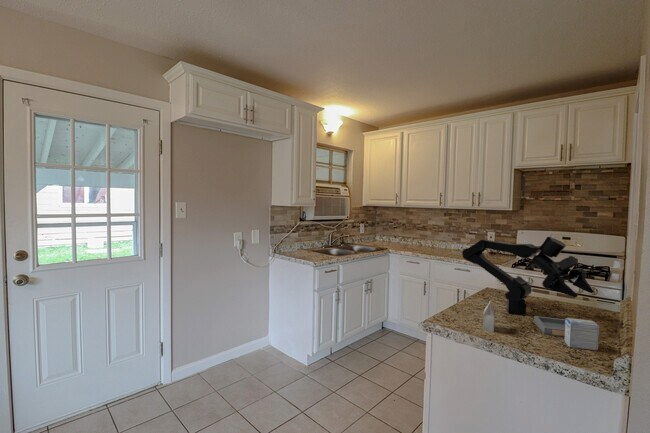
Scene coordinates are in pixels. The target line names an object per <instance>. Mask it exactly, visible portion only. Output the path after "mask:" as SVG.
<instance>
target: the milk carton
mask: <svg viewBox="0 0 650 433" xmlns="http://www.w3.org/2000/svg"><path fill="white" fill-rule="evenodd" d="M495 310H496V309H495V308H494V307H493V304H492V300H489V302H488V304H486V307H485V308H484V310H483V314H482V330H481V331H484V332H489V333H494V330H495V322H496V311H495Z"/></svg>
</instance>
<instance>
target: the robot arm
mask: <svg viewBox="0 0 650 433" xmlns="http://www.w3.org/2000/svg"><path fill="white" fill-rule="evenodd" d="M566 247H567V245H566V244H565V243H564V242H563V241H561V240H558V239H557V238H554V237H552V236H547V237H546V238H545V239H544V241H543V242H542V244H541V245H538V246H536V245H534V244H532V243H509V242H502V241H495V240H489V239H487V238H485V239H480V240H478V241H477V242H475V243H474V244H472V245H471V246H469V247H467V248H464V249H463V250H462V254H461V255H462V258H463V259H464V260H466V261H468V262H470V263H472V264H475V265H477V266H479V267H481V269H483V270H485V271H486V272H487V273H489V274H490V275H491V276H492V277H494V278H495V279H497V280H498V281H500V283H502V284H504V286H505V288H506V289H507V292H506V293H505V294H504V296H505V299H506V308H505V311H506V312H507V313H508V314H510V315H519V316H526V315H527V314H526V313H527V303H526V300H525V299H527V297H528V296H529V295H531V293H532V285H531V284H530V283H529V281H526V280H525V279H524V278H523V277H522V276H516V277H513V276H512V275H510V274H509V273H508V272H506V271H504V270H503V269H502V268H501V267H499V266H498V265H496V264H494V263H493V262H492V261H490V260H489V259H487V258H486V257H485V255H484V252H485V250H487V249H488V250H493V251H498V252H499V251H500V252H505V253H509V254H512V255H514V256H516V257H519V258H522V259H528V258H532V259H529V260H527V261H528V267H532V268H535V267H537V268H539V269H540V270H541V271H542V274H543V275H544V276H545V277H544V279H543V281H542V282H541V284H542V287H543V288H544V289H546V290H550V291H554V292H557V293H561V294H564V295H567V296H570V297H573V298H578V294H577V293H576V292H575V291H574V290H573V288H571V287H570V286H569V285H568V284H567V283H566V281H567V282H568V283H570V284H572V285H573V286H574V287H576V288H579V289H580V290H583V291H585V292H587V293H590V294H594V289H593V287H592V286H591V285H590V284H589V282H588V281H587V279H586V275H587V271H586V270H585V269H584V268H582V267H581V268H573V267H576V266H578V265H579V261H578V260H579V259H578V258H577V257H575V256H574V255H573V256H572V255H569V256H568V257H565V258H564V259H562V260H559V261H554V259H552V258H557V257H558V256H559V255H560V254H561V252H562V251H563V250H564V249H565V248H566ZM572 268H573V269H572Z"/></svg>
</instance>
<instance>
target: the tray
mask: <svg viewBox="0 0 650 433" xmlns="http://www.w3.org/2000/svg"><path fill="white" fill-rule="evenodd" d="M565 321H566V318H565V319H564V318H563V319H562V318H556V317H555V318H554V317H548V316H547V317H546V316H538V315H534V316H533V323H534V324H535V325H536V326H537V328H538V329H539V330H540V331H541V332H542V333H543V335H544V336H545V335H546V336H554V337H562V338H565Z"/></svg>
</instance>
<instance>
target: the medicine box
mask: <svg viewBox="0 0 650 433" xmlns="http://www.w3.org/2000/svg"><path fill="white" fill-rule="evenodd" d="M565 319H566V321H565V337H564V344H566V345H567V346H568V347H569V348H574V349H575V348H576V349H581V350H588V351H589V350H591V351H598V349H599V333H600V332H599V331H600V330H599V329H600V325H599V324H597V322H595V321H594V320H588V319H579V318H571V317H570V318H569V317H566V318H565Z"/></svg>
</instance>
